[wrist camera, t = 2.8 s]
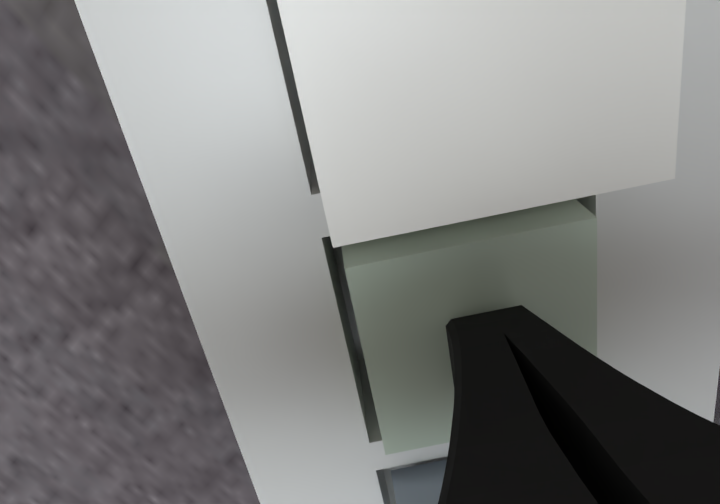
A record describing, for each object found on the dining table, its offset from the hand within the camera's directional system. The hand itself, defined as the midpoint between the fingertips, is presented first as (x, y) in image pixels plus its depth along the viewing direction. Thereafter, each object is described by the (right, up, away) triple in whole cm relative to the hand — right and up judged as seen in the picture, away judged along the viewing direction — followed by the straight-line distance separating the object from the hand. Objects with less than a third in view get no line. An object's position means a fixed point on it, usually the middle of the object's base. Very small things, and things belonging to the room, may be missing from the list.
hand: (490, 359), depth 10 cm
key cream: (-1, +6, -1) cm, 6 cm away
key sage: (0, +2, +3) cm, 3 cm away
